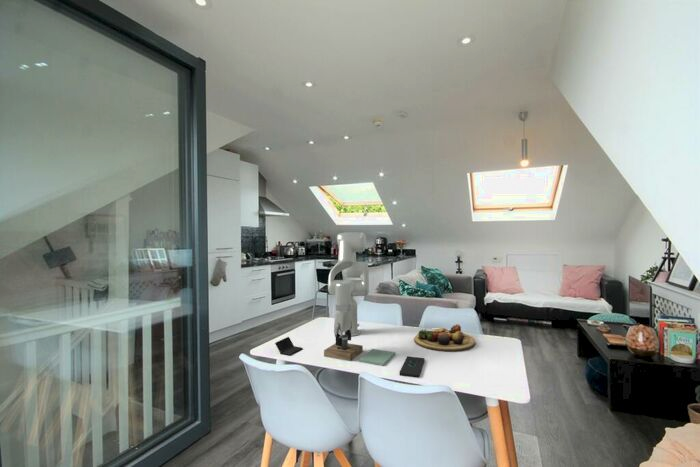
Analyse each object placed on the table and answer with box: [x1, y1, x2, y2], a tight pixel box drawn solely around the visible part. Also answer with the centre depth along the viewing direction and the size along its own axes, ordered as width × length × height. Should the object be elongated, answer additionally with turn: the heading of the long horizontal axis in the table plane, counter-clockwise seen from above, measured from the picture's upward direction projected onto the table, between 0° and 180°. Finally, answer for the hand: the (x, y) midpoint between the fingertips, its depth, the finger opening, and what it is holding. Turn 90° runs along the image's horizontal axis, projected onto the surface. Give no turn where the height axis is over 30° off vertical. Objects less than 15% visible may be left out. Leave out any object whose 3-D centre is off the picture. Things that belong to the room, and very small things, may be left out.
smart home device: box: [399, 355, 425, 379], centre depth 144 cm, size 8×2×20 cm
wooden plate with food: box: [413, 323, 476, 353], centre depth 178 cm, size 32×32×8 cm
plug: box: [340, 334, 349, 350], centre depth 161 cm, size 4×4×9 cm
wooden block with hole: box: [323, 342, 364, 362], centre depth 161 cm, size 14×14×3 cm
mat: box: [358, 348, 396, 367], centre depth 156 cm, size 16×12×1 cm
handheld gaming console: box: [274, 336, 303, 357], centre depth 167 cm, size 12×7×10 cm
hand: (343, 342), depth 161 cm, fingers open, 9 cm apart
